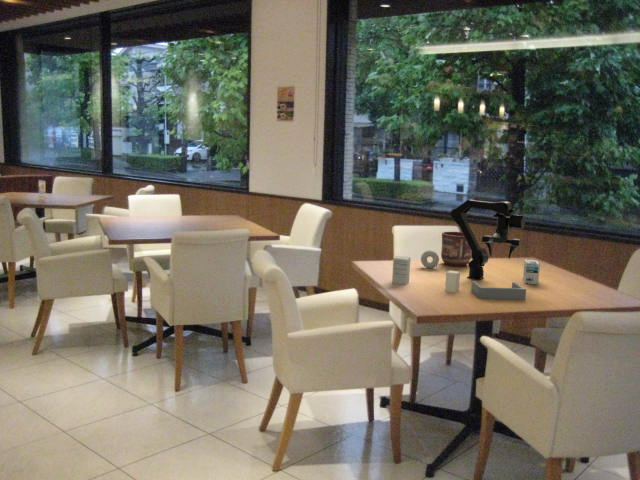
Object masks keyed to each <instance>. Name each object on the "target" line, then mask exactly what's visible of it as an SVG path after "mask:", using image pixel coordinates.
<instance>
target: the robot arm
mask: <svg viewBox="0 0 640 480" xmlns="http://www.w3.org/2000/svg"><path fill="white" fill-rule="evenodd" d="M472 208H474V209H482V210H488V211H489V210H491V211H493V212H495V214H494V215H493V218H496V219H497V221H496V229H495V232H494V233H493V235H482V237H481V242H482V243H484V244H485V245H486V246H487V248H488V252H489V254H488V252H487V249H486V248H482V247H481V246H480V244H479V242H478V240H477V239H476V236H475V234H474V233H473V230H472V229H471V227H470V224H469V222H468V215H467V213H468V212H469V211H470V210H471V209H472ZM450 217H451V219H452V220H453V221H454V222H455V224H457V225H458V227H459V228H460V230H461V232H462V233H463V235H464V237H465V239H466V241H467V243H468V245H469V247H470V249H471V259H470V261H469V263H468V264H467V265H468V268H469V270H468V276H467V277H466V278H467V279H470V280H471V279H472V280H474V281H479V280H482V279H483V280H484V279H485V277H484V271H485V270H484V267H485V265H486V264H487V263H488V262H489V256H490V257H492V256H493V247H494V243H495V244H497V243H498V244H510V245H509V251H508V253H509V254H508V259H511V257H512V255H513V253H514V251H515V250H516V248H517V247H520V246H521V245H522V239H521V238H512V239H509V231H510V228H512V229H519V230H523V229H524V228H525V226H526V219H525V215H523V214H516V212H515V210H514V209H513V205H512V203H511V202H509V201H497V202H496V201H495V202H493V201H486V200H485V201H483V200H475V199H467V200H466V201H464V202H463V203H461V204H459V206H457V207H456V208H452V209H451V211H450Z"/></svg>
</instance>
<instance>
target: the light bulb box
mask: <svg viewBox="0 0 640 480" xmlns="http://www.w3.org/2000/svg"><path fill="white" fill-rule="evenodd" d="M540 268H541V264H540V262H539V261H538V260H534V259H524V265H523V276H522V281H523V282H524V284H526V283H528V285H529V284H530V285H539V281H540V280H539V279H540V278H539V277H540Z"/></svg>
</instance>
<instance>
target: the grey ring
mask: <svg viewBox="0 0 640 480" xmlns="http://www.w3.org/2000/svg"><path fill="white" fill-rule="evenodd" d="M429 257H431V258H432V261H431V262H430V261H429V260H428V258H429ZM420 262H421V264H422V265H423V267H425V268H427V269H433V268H435V267H437V266H438V265H439V262H440V258H439V254H438V253H437V252H436V251H433V250H425V251H424V252H423V253H422V254H421V255H420Z"/></svg>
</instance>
